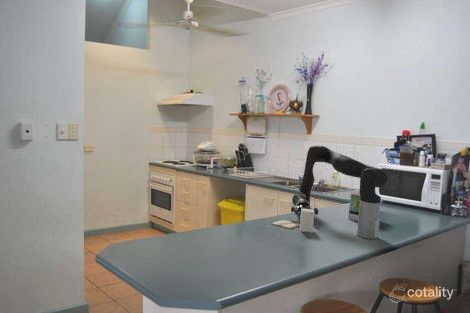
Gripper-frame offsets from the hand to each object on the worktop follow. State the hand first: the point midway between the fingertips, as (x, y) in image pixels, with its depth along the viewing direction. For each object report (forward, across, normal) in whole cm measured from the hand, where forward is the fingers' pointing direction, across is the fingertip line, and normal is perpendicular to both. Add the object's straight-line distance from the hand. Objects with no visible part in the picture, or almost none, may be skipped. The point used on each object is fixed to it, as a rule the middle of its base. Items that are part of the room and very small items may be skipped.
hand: (305, 213), depth 209 cm
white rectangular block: (+11, 0, +6) cm, 13 cm away
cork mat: (+4, -9, +6) cm, 12 cm away
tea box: (-27, +34, +6) cm, 44 cm away
